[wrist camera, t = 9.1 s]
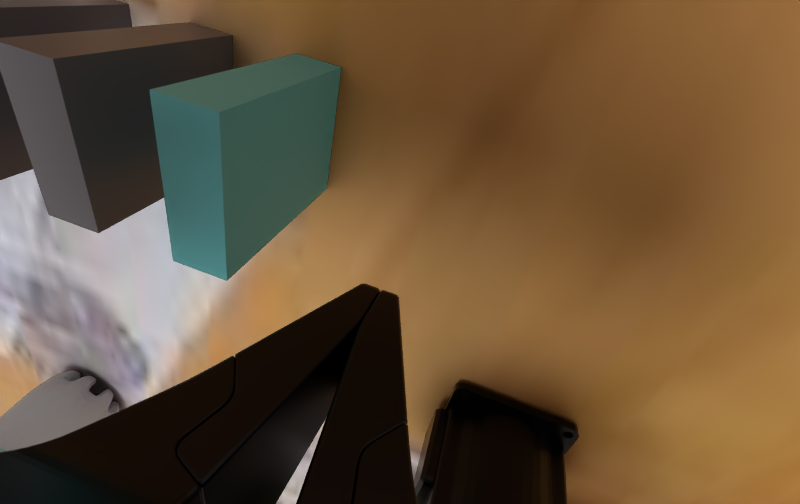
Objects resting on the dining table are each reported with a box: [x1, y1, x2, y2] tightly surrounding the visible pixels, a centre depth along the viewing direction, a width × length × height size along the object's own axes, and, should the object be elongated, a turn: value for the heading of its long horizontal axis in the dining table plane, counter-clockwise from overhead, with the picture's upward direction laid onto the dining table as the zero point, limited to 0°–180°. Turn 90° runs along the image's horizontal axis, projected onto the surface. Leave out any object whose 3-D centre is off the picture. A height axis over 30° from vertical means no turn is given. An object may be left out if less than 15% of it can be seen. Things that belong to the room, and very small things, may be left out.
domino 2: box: [0, 22, 233, 233], centre depth 14 cm, size 2×5×7 cm, turn 168°
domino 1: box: [0, 0, 132, 180], centre depth 15 cm, size 2×5×7 cm, turn 168°
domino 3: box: [149, 54, 341, 281], centre depth 14 cm, size 2×5×7 cm, turn 168°
